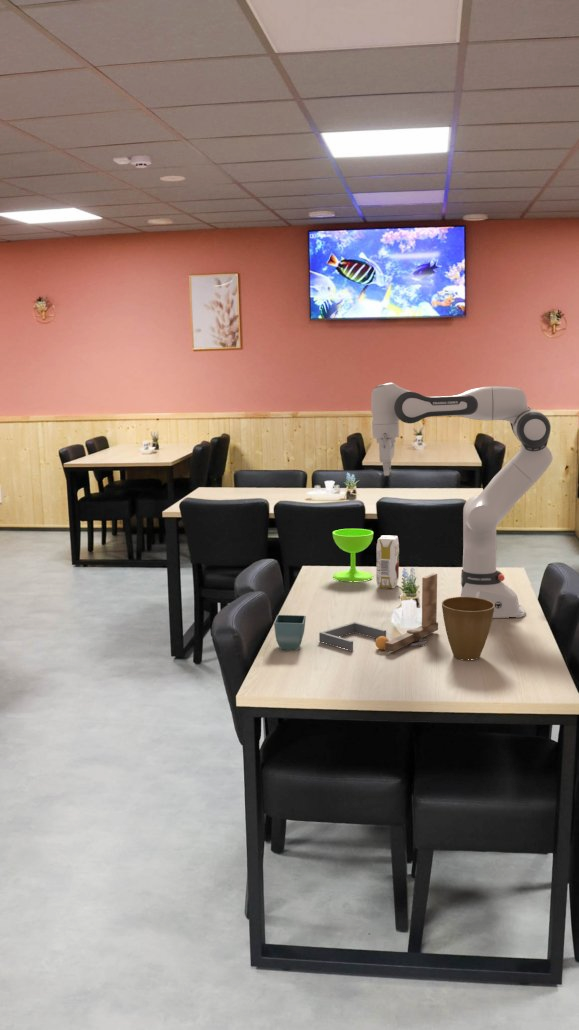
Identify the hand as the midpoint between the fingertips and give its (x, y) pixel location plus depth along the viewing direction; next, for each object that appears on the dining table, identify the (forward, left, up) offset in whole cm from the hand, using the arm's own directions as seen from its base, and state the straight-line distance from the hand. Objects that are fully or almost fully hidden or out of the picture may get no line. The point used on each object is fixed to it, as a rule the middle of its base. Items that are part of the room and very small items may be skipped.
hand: (387, 473), depth 311 cm
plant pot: (-25, +48, -47) cm, 72 cm away
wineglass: (+15, -45, -47) cm, 67 cm away
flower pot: (+27, +45, -47) cm, 71 cm away
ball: (0, +44, -47) cm, 64 cm away
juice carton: (+1, -32, -47) cm, 57 cm away
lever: (-9, +37, -46) cm, 59 cm away
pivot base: (-10, +36, -47) cm, 60 cm away
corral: (+8, +37, -47) cm, 60 cm away
